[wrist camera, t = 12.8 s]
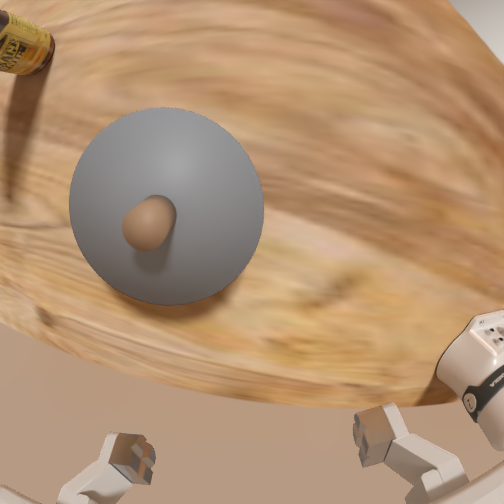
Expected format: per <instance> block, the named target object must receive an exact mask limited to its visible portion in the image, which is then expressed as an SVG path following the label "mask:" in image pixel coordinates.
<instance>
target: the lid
mask: <svg viewBox="0 0 504 504" xmlns="http://www.w3.org/2000/svg"><path fill="white" fill-rule="evenodd" d="M69 212H70V220H71V225H72V229H73V233H74V236H75V239H76V241H77V244H78V246H79V248H80V250H81V252H82V254H83V256H84V257H85V259H86V260H87V262H88V263H89V265H90V266H91V267H92V268H93V269H94V271H95V272H96V273H97V274H98V275H99V276H100V277H101V278H102V279H103V280H104V281H106V282H107V283H108V284H109V285H111V286H112V287H114V288H115V289H116V290H118V291H120V292H122V293H123V294H125V295H127V296H130V297H132V298H134V299H137V300H140V301H144V302H147V303H152V304H158V305H182V304H187V303H192V302H196V301H199V300H202V299H205V298H207V297H210V296H212V295H214V294H216V293H217V292H219V291H220V290H222V289H224V288H225V287H227V286H228V285H229V284H230V283H231V282H232V281H234V280H235V279H236V278H237V277H238V276H239V274H240V273H241V272H242V271H243V270H244V269H245V267H246V266H247V264H248V263H249V261H250V260H251V258H252V256H253V254H254V252H255V250H256V248H257V245H258V242H259V239H260V236H261V232H262V226H263V219H264V202H263V193H262V188H261V184H260V180H259V177H258V175H257V172H256V169H255V167H254V165H253V163H252V161H251V160H250V158H249V156H248V154H247V153H246V152H245V150H244V149H243V147H242V146H241V145H240V143H239V142H238V141H237V140H236V139H235V138H234V137H233V136H232V135H231V134H230V133H229V132H228V131H226V130H225V129H224V128H222V127H221V126H220V125H218V124H217V123H215V122H213V121H212V120H210V119H208V118H206V117H204V116H202V115H199V114H196V113H194V112H191V111H186V110H182V109H177V108H150V109H145V110H141V111H136V112H134V113H131V114H128V115H126V116H123V117H122V118H120V119H118V120H116V121H114V122H113V123H111V124H110V125H108V126H107V127H106V128H105V129H103V130H102V131H101V132H100V133H99V134H98V135H97V136H96V137H95V138H94V139H93V140H92V141H91V143H90V144H89V145H88V147H87V148H86V149H85V151H84V152H83V154H82V156H81V158H80V160H79V161H78V164H77V166H76V169H75V171H74V174H73V178H72V182H71V187H70V195H69Z"/></svg>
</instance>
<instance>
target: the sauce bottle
mask: <svg viewBox="0 0 504 504" xmlns="http://www.w3.org/2000/svg"><path fill="white" fill-rule="evenodd" d="M53 49H54V39H53V36H52V35H51V34H50V33H49V32H48V31H47V30H45V29H43V28H41V27H39V26H37V25H35V24H33V23H31V22H29V21H27V20H25V19H23V18H20V17H18V16H16V15H14V14H11V13H9V12H7V11H2V10H0V71H3V72H8V73H13V74H18V75H30V74H35V73H36V72H39V71H40V70H41V69H42V68H43V67H44V66H45V65H46V63H47V62H48V61H49V60H50V58H51V56H52V54H53Z"/></svg>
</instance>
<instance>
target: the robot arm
mask: <svg viewBox="0 0 504 504" xmlns="http://www.w3.org/2000/svg"><path fill="white" fill-rule="evenodd" d="M436 375H437V378H438V379H439V380H441V381H442V382H443V383H445V384H446V385H447V386H448V387H450V388H451V389H452V390H453V391H454V392H455V393H456V394H457V395H458V397H459V398H460V399H461V400H462V402H463V404H464V406H465V408H466V410H467V412H468V413H469V415H470V416H471V418H472V419H473V421H474V422H475V423H478V424H479V426H480V427H481V429H482V430H483V432H484V434H485V435H486V437H487V439H488V440H489V442H490V444H491V445H492V447H493V448H494V449H496V450H498V451H504V310H500V311H496V312H492V313H487V314H483V315H478V316H475V317H474V318H473V319H472V320H471V322H470V323H469V325H468V326H467V328H466V329H465V330H464V332H463V333H462V334H461V335H460V336H459V337H458V338H457V339H456V340H455V341H454V342H453V343H452V344H451V345H450V346H449V348H448V349H447V350H446V352H445V353H444V355H443V356H442V358H441V360H440V362H439V364H438V367H437V371H436ZM354 419H355V423H354V424H353V436H354V440H355V444H356V446H358V447H359V448H360V450H359V457H360V461H361V464H362V467H363V468H364V467H367V466H371V465H375V464H378V463H381V462H384V463H385V464H386V465H387V466H388V467H390V468H391V469H392V470H394V471H395V472H396V473H398V474H399V475H400V476H402V477H403V478H404V479H406V480H407V481H408V482H410V483H411V484H412V485H414V487H413V488H412V489H411V491H410V492H409V493H408V494H407V496H406V497H405V500H406V504H504V460H503V461H502V462H500V463H499V464H498V465H496V466H495V467H493V468H492V469H490V470H489V471H487V472H485V473H484V474H482V475H481V476H479V477H477V478H476V479H474V480H472V481H471V482H469V480H468V478H467V476H466V473H465V471H464V469H463V467H462V465H461V463H460V461H459V459H458V457H457V456H455V455H453V454H451V453H449V452H447V451H445V450H444V449H442V448H440V447H438V446H436V445H434V444H432V443H430V442H429V441H427V440H425V439H423V438H421V437H420V436H418V435H416V434H414V433H411V434H409V432H408V429H407V427H406V425H405V423H404V421H403V419H402V417H401V415H400V413H399V410H398V408H397V406H396V404H395V403H393V402H391V403H388V404H385V405H382V406H378V407H375V408H371V409H368V410H365V411H361V412H358V413H356V414H355V415H354ZM155 459H156V457H155V451H154V448H153V447H152V445H150V444H149V443H147V442H146V438H145V437H144V436H143V435H137V434H124V433H115V432H109V433H108V434H107V436H106V439H105V442H104V444H103V447H102V450H101V453H100V456H99V459H98V461H94V462H93V463H92V464H91V465H89V466H88V467H87V468H86V469H84V470H83V471H82V472H81V473H79V474H78V475H77V476H76V477H74V478H73V479H72V480H71V481H69V482H68V483H67V484H65V485H64V486H63V487H62V489H61V491H60V494H59V497H58V500H57V503H56V504H116V502H117V501H118V500H119V499H120V498H121V497H122V496H123V495H124V494H125V492H126V491H127V490H128V489H129V488H130V487H131V486H132V485H133V484H132V483H134V484H143V485H150V484H151V478H152V474H153V472H152V470H151V469H150V468H151V467H152V466H153V465H154V464H155ZM0 504H41V503H39V502H36V501H34V500H33V499H30V498H29V497H26V496H25V495H23V494H21V493H19V492H17V491H15V490H13V489H11V488H9V487H8V486H5V485H0Z"/></svg>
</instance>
